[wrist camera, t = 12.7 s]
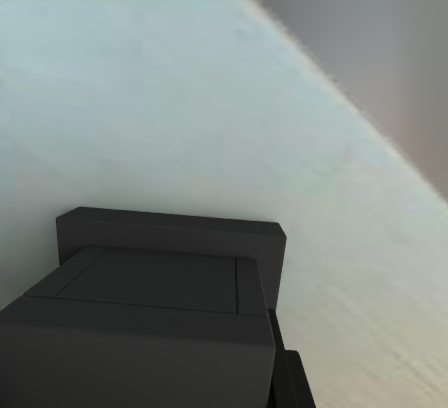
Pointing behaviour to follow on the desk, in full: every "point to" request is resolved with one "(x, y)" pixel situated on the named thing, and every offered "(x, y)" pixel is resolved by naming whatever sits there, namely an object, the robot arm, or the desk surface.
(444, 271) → the desk surface
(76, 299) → the pad
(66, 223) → the base pad
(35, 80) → the desk surface
